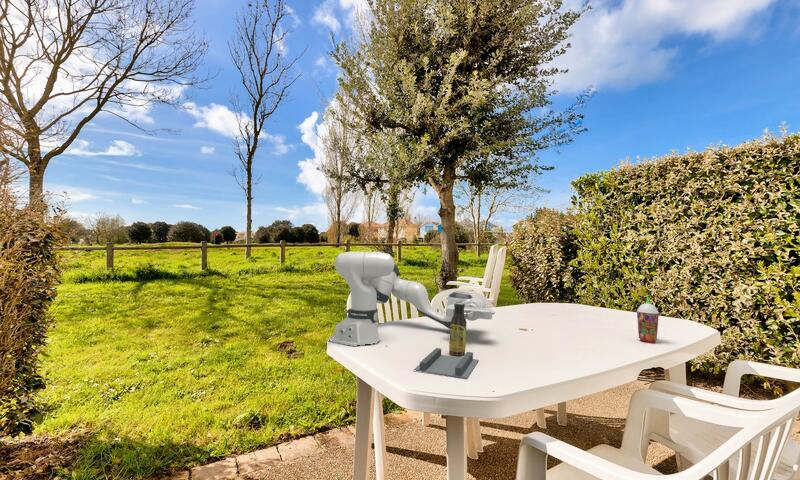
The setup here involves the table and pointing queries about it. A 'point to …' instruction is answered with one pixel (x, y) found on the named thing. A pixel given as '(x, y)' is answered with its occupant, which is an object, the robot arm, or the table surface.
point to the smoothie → (647, 322)
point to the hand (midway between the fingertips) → (465, 315)
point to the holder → (448, 364)
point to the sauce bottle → (458, 331)
